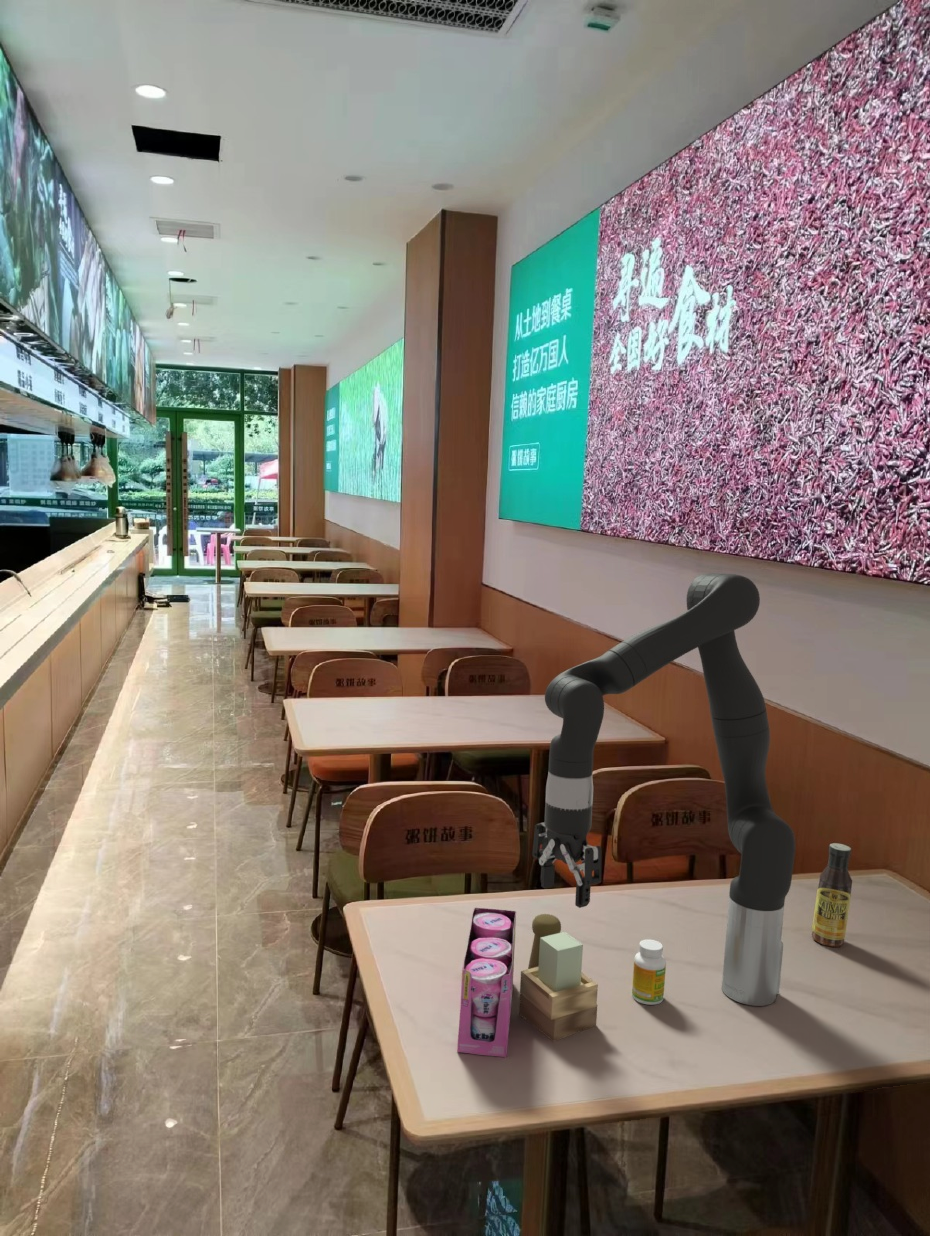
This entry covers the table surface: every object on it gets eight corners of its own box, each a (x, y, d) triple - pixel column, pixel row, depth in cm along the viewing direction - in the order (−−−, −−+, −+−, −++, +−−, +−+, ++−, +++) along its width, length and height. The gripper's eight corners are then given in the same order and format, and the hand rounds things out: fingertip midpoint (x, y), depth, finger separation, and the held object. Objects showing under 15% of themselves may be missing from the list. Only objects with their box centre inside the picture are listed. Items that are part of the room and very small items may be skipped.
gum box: (507, 1064, 138) (511, 979, 136) (455, 1059, 138) (459, 974, 137) (513, 983, 161) (517, 910, 160) (468, 979, 162) (472, 906, 160)
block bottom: (560, 1002, 157) (561, 980, 156) (595, 1027, 149) (597, 1004, 149) (518, 1016, 152) (520, 994, 151) (553, 1044, 144) (554, 1020, 144)
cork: (558, 986, 161) (562, 926, 160) (524, 981, 162) (528, 922, 161) (562, 969, 167) (565, 912, 166) (529, 964, 168) (532, 908, 167)
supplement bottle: (656, 1009, 155) (660, 955, 154) (627, 999, 158) (630, 946, 156) (667, 995, 159) (671, 943, 158) (638, 986, 162) (642, 934, 161)
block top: (563, 980, 156) (565, 959, 155) (596, 1006, 148) (597, 984, 148) (519, 992, 151) (521, 971, 151) (551, 1019, 144) (552, 997, 143)
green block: (562, 971, 153) (564, 931, 152) (580, 985, 149) (583, 944, 148) (537, 977, 151) (540, 937, 150) (555, 992, 146) (558, 950, 145)
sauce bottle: (810, 944, 181) (819, 848, 179) (811, 931, 187) (820, 838, 185) (846, 951, 179) (855, 854, 177) (845, 938, 185) (855, 843, 182)
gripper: (617, 809, 143) (611, 908, 144) (558, 784, 154) (553, 876, 156) (581, 816, 138) (575, 918, 140) (523, 791, 150) (519, 885, 152)
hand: (564, 896), depth 148 cm, fingers open, 8 cm apart
